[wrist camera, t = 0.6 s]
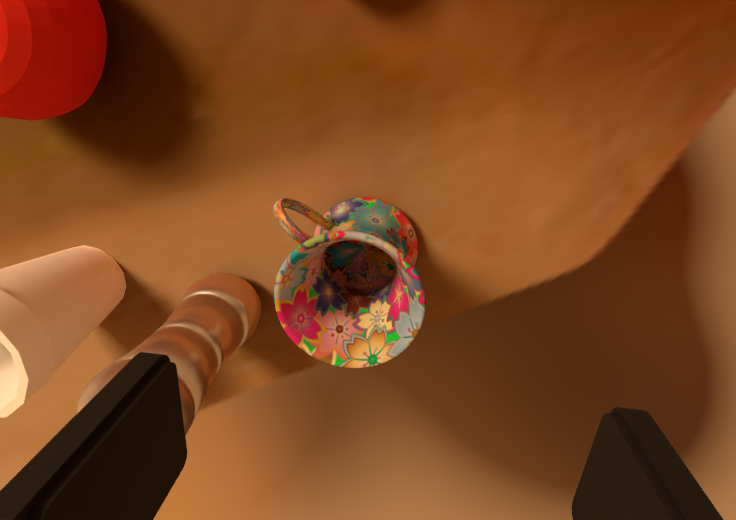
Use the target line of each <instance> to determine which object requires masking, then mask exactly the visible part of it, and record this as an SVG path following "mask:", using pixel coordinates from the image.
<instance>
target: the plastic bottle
mask: <svg viewBox="0 0 736 520" xmlns="http://www.w3.org/2000/svg"><path fill="white" fill-rule="evenodd" d="M261 309H262V308H261V301H260V298H259V296H258V294H257V292H256V290H255V289H254V288H253V287H252V286H251V285H250V284H249V283H248V282H247V281H246V280H244V279H242V278H240V277H238V276H235V275H232V274H227V273H218V274H212V275H210V276H207V277H205V278H203V279H202V280H200V281H198V282H196V283H195V284H193V285H192V286H191V287H190V288H189V289H188V290H187V292H186V293H185V295H184V296H183V297H182V299H181V300H180V302H179V304H178V306H177V308H176V309H175V310H174V312H173V313H172V314H171V315H170V316H169V318H168V319H167V320H166V321H165V322H164V324H163V325H162V326H161V327H160V328H159V329H157V330H156V331H155V332H154V333H153V334H152V335H150V336H149V337H148V338H147V339H146V340H144V341H143V342H142V343H141V344H140V345H139V346H137V347H136V348H135V349H133V350H132V351H130V352H129V353H127V354H126V355H124V356H123V357H121V358H120V359H118V360H117V361H115V362H114V363H112V364H111V365H109V366H108V367H106V368H105V369H104V370H102V371H101V372H100V373H99V374H97V375H96V376H95V377H94V378H93V379H92V380H91V381H90V382H89V383H88V385H87V387H86V388H85V390H84V392H83V394H82V396H81V398H80V400H79V402H78V406H77V412H76V414H77V413H78V412H79V411H80V410H81V409H82V408H83V407H84V406H85V405H86V404H87V403H88V402H89V401H90V400H91V399H92V398H93V397H94V396H95V395H96V394H97V393H98V392H99V391H100V390H101V389H102V388H103V387H104V386H105V385H106V384H107V383H108V382H109V381H110V380H111V379H112V378H113V377H114V376H115V375H116V374H117V373H118V372H119V371H120V370H121V369H122V368H123V367H124V366H125V365H126V364H127V363H128V362H129V361H130V360H131V359H132V358H133V357H134V356H135V355H137V354H138V353H140V352H146V353H155V354H163V355H167V356H168V357H169V358H170V362H173V363H175V364H176V367H177V374H178V382H179V390H180V398H181V406H182V414H183V423H184V431H185V436H186V434H187V432H188V430H189V428H190V427H191V425H192V423H193V420H194V418H195V416H196V414H197V412H198V409H199V407H200V405H201V403H202V400H203V398H204V396H205V394H206V391H207V390H208V388H209V386H210V385H211V383H212V381H213V379H214V378H215V376H216V374H217V373H218V371H219V369H220V368H221V367H222V365H223V364H224V363H225V362H226V361H227V360H228V358H229V357H230V356H231V355H232V354H233V352H234V351H235V350H236V349H238V348H239V347H240V346H241V345H242V344H243V343H244V342H246V340H247V339H248V338H249V337H250V336H251V335H252V334H253V333H254V331H255V330H256V328H257V325H258V322H259V319H260V316H261Z"/></svg>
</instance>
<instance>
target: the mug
mask: <svg viewBox="0 0 736 520" xmlns="http://www.w3.org/2000/svg"><path fill="white" fill-rule="evenodd" d="M283 207H284V208H289V209H292V210H294V211H296V212H299V213H300V214H302V215H304V216H306V217H307V218H309V219H310V220H312V221H313V222H315V223H316V224H317V228H316V230H315V234H314V237H311V236H309V235H307V234H305V233H304V232H302V231H301V230H300V229H299V228H298V227H297V226H296V225H295V224H294V223H293V222H292V221H291V220H290V219H289V217H288V216H287V214H286V212H285V211H284V208H283ZM273 213H274V216H275V218H276V220H277V221H278V223H279V224H280V226H281V227H282V228H283V230H284V231H285V232H286V233H287V234H288V235H289V236H290V237H292V238H293V239H294V240H296V241H297V242H299V243H301V245H299V246H298V247H297V248H296V249H295V250H294V251H292V252H291V254H290V255H289V256H288V257H287V258H286V260H285V261H284V263H283V264H282V266H281V268H280V270H279V273H278V275H277V278H276V282H275V288H274V302H275V308H276V312H277V316H278V318H279V321H280V323H281V325H282V327H283V329H284V330H285V332H286V333H287V335H288V336H289V337H290V339H291V340H292V341H293V342H294V343H295V344H296V345H297V346H298V347H299V348H300V349H302V350H303V351H304V352H306V353H307V354H309V355H310V356H312V357H314V358H316V359H318V360H320V361H322V362H324V363H328V364H331V365H335V366H339V367H345V368H364V367H371V366H374V365H378V364H381V363H384V362H386V361H389V360H391V359H393V358H394V357H396V356H397V355H399V354H400V353H402V352H403V351H404V350H405V349H406V348H407V347H408V346H409V345H410V344H411V343H412V342H413V340H414V339H415V337H416V336H417V334H418V333H419V331H420V328H421V326H422V323H423V320H424V316H425V308H426V298H425V291H424V287H423V284H422V281H421V278H420V276H419V274H418V272H417V270H416V269H415V267H414V266H415V264H416V260H417V255H418V242H417V237H416V234H415V231H414V229H413V227H412V225H411V223H410V221H409V220H408V219H407V217H406V216H405V215H404V214H403V213H402V212H401V211H400V210H398V209H397V208H396V207H394V206H393V205H391V204H389V203H387V202H385V201H382V200H379V199H375V198H367V197H360V198H352V199H349V200H345V201H343V202H341V203H339V204H337V205H335V206H334V207H332V208H331V209H330V210H329V211H328V212H326V214H325V215H324V216H322V215H320V214H319V213H318V212H316V211H315V210H313V209H312V208H310V207H308V206H307V205H305V204H303V203H301V202H298V201H296V200H293V199H289V198H282V199H280V200H278V201H277V202H276V203H275V204H274V206H273Z"/></svg>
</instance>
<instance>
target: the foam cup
mask: <svg viewBox="0 0 736 520" xmlns="http://www.w3.org/2000/svg"><path fill="white" fill-rule="evenodd" d="M126 287H127V286H126V281H125V277H124V272H123V271H122V269H121V268H120V267H119V265H118V264H117V262H116V261H115V260H114V258H112V257H111V256H109V255H108V254H106V253H105V252H104V251H102V250H101V249H98V248H94V247H90V246H86V245H83V246H78V247H73V248H70V249H66V250H62V251H59V252H55V253H52V254H49V255H46V256H42V257H39V258H36V259H32V260H29V261H26V262H22V263H19V264H16V265H13V266H9V267H6V268H3V269H0V418H1V417H7V416H8V415H10V414H11V413H12V412H13V411H15V410H16V409H17V408H18V407H19V406H21V405H22V404H23V403H24V402H26V401H27V400H28V399H29V398H30V397H32V396H33V395H34V394H35V393H36V392H38V391H39V390H40V389H41V388H42V387H44V386H45V385H46V384H47V383H48V382H50V381H51V378H52V375H53V373H54V372H55V371H56V370H57V369H58V368H59V367H60V366H61V365H62V364H63V363H64V362H65V361H66V360H67V358H68V357H69V356H70V355H71V354H72V353H73V352H74V351H75V350H76V349H77V348H78V347H79V346H80V345H81V343H82V342H83V341H84V340H85V339H86V338H87V337H88V336H89V335H90V334H91V333H92V332H93V331H94V330H95V328H96V327H97V326H98V325H99V324H100V323H101V322H102V321H103V320H104V319H105V318H106V317H107V316H108V315H109V313H110V312H111V311H112V310H113V309H114V308H115V307H116V306H117V305H118V304H119V303H120V301H121V300H122V299H123V297H124V294H125V290H126Z"/></svg>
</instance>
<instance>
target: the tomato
mask: <svg viewBox="0 0 736 520" xmlns="http://www.w3.org/2000/svg"><path fill="white" fill-rule="evenodd" d="M106 51H107V32H106V25H105V19H104V16H103V13H102V10H101V7H100V4H99V2H98V0H0V117H8V118H16V119H25V120H39V119H46V118H52V117H56V116H61V115H64V114H66V113H68V112H70V111H72V110H74V109H76V108H78V107H80V106H81V105H83V104H84V103H85V102H86V101H87V100H88V99H89V97H90V96H91V95H92V94H93V92H94V90H95V88H96V86H97V84H98V82H99V80H100V78H101V76H102V72H103V69H104V65H105V58H106Z"/></svg>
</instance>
